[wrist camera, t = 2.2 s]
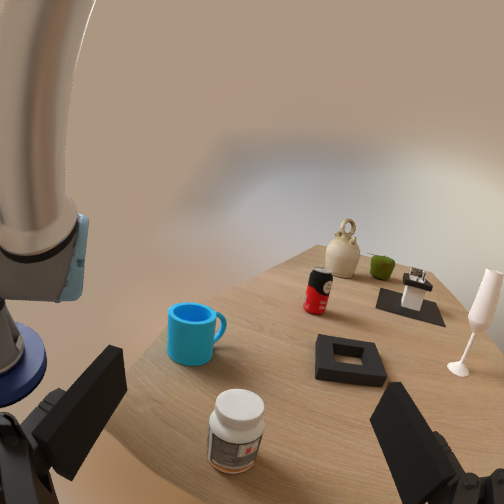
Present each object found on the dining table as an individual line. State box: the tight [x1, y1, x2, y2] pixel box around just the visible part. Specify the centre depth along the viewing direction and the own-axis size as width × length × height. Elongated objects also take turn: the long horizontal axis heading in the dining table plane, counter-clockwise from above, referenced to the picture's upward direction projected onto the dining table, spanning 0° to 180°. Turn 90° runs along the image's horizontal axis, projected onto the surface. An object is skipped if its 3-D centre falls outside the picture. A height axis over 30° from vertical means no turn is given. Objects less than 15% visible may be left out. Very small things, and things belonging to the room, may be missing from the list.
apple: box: [370, 255, 395, 280], centre depth 121 cm, size 12×12×11 cm
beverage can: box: [303, 267, 333, 315], centre depth 72 cm, size 6×6×12 cm
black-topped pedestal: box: [376, 267, 446, 327], centre depth 86 cm, size 28×26×13 cm
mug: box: [167, 302, 227, 366], centre depth 46 cm, size 12×8×8 cm
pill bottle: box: [207, 389, 265, 474], centre depth 24 cm, size 6×6×10 cm
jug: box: [326, 219, 360, 278], centre depth 116 cm, size 15×16×25 cm
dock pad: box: [315, 334, 387, 387], centre depth 48 cm, size 13×13×2 cm
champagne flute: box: [447, 268, 504, 377], centre depth 42 cm, size 7×7×24 cm
